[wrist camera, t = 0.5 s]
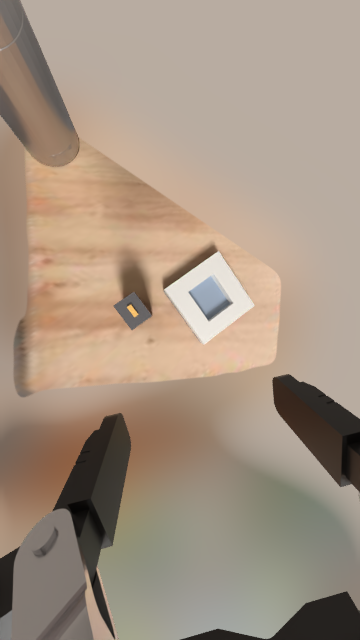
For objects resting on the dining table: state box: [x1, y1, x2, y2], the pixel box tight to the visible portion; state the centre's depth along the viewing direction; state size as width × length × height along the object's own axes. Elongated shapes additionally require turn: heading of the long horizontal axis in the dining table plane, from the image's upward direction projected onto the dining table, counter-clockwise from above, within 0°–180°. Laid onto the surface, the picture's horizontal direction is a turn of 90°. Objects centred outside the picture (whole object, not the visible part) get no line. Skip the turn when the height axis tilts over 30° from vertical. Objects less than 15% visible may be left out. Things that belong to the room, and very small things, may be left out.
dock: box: [164, 251, 255, 344], centre depth 36 cm, size 13×13×2 cm
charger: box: [114, 292, 152, 330], centre depth 30 cm, size 4×4×9 cm
